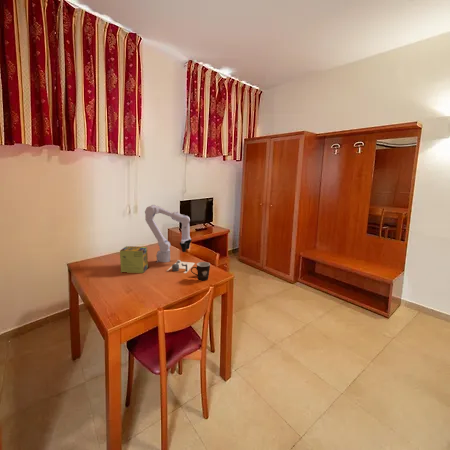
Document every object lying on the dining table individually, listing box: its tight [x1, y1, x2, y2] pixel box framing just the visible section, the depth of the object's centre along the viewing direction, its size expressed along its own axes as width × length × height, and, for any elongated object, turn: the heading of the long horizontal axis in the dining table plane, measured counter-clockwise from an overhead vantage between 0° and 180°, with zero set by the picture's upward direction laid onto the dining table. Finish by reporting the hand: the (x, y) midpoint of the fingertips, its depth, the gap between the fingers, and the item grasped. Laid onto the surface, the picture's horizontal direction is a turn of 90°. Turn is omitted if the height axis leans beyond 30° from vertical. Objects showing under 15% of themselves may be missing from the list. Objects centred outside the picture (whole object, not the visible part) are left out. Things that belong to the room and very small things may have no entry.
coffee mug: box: [190, 261, 211, 282], centre depth 163 cm, size 12×9×10 cm
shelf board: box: [166, 261, 196, 274], centre depth 179 cm, size 14×20×2 cm
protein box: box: [119, 245, 149, 274], centre depth 174 cm, size 10×15×16 cm
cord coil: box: [171, 263, 180, 272], centre depth 173 cm, size 5×5×5 cm
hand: (185, 250), depth 189 cm, fingers open, 7 cm apart
